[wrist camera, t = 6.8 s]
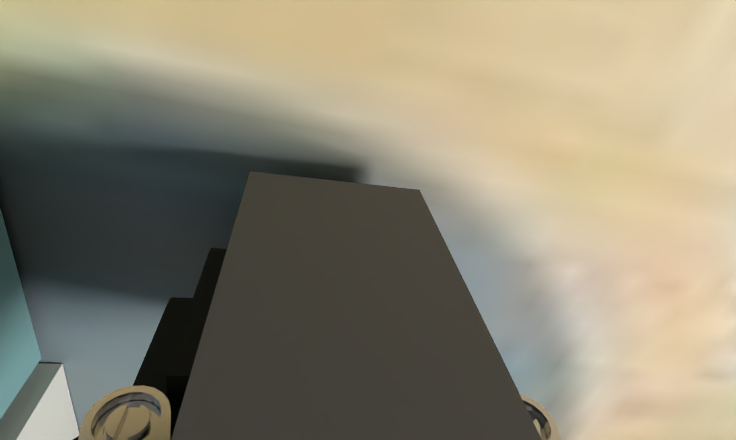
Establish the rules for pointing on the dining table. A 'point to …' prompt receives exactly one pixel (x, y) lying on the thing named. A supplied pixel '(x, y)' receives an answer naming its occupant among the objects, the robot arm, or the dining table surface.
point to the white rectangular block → (41, 408)
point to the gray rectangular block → (344, 326)
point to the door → (13, 328)
